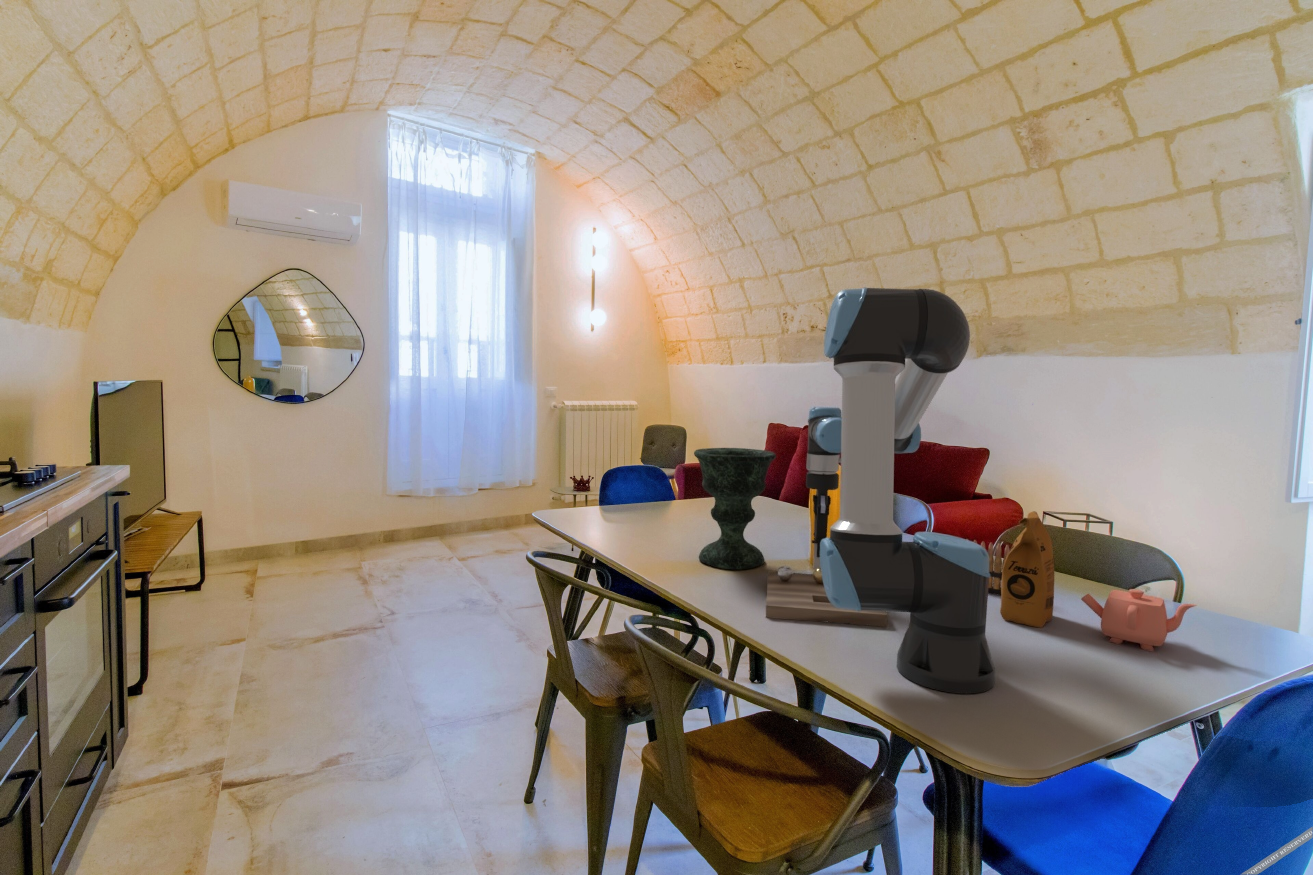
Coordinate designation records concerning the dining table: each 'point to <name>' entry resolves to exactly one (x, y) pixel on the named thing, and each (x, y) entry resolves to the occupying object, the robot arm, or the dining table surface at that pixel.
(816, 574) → the brass ball
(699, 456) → the goblet
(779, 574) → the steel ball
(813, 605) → the hole plate
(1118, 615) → the teapot
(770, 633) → the dining table surface
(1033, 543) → the coffee package
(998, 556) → the ammunition clip
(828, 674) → the dining table surface
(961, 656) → the robot arm
